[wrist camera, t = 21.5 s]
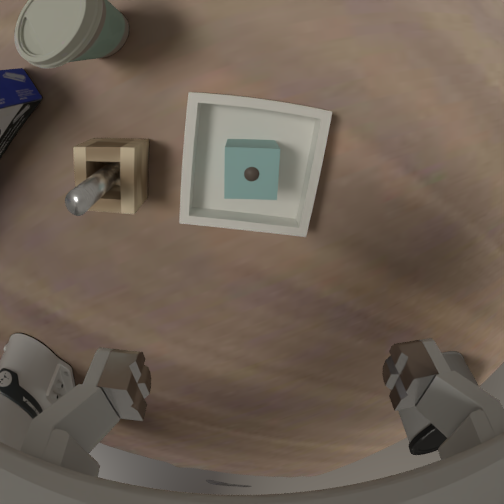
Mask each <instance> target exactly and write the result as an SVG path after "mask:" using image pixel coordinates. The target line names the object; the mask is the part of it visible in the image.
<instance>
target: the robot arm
mask: <svg viewBox="0 0 504 504" xmlns="http://www.w3.org/2000/svg"><path fill="white" fill-rule="evenodd" d="M389 352H390V355H391V356H390V357H389V358H388V359H386V360H385V363H384V365H383V380H384V383H385V386H387V387H388V388H389V389H391V392H390V395H389V397H390V399H391V402H392V405H393V408H394V410H395V411H396V410H401V409H406V408H411V407H415V408H416V409H417V410H418V411H419V412H420V413H421V414H422V415H423V416H424V417H425V418H426V419H428V420H429V421H430V422H431V423H432V424H433V425H434V426H435V427H436V428H437V429H438V430H439V431H440V432H441V433H442V434H444V435H445V436H446V437H447V439H446V440H445V441H444V442H443V443H442V444H441V445H440V447H439V448H438V452H439V454H440V458H441V460H440V461H437V462H434V463H431V464H428V465H425V466H423V467H419V468H416V469H413V470H410V471H406V472H403V473H399V474H396V475H392V476H388V477H385V478H380V479H376V480H372V481H367V482H362V483H358V484H353V485H347V486H342V487H336V488H330V489H323V490H315V491H307V492H296V493H284V494H268V495H216V494H197V493H186V492H176V491H168V490H160V489H153V488H147V487H141V486H136V485H130V484H125V483H120V482H116V481H111V480H106V479H103V478H99V477H98V473H99V468H100V465H99V464H98V462H97V461H96V460H95V459H94V458H92V457H91V456H90V455H89V453H90V452H91V451H92V449H93V448H94V447H95V446H96V445H97V444H98V443H99V442H100V441H101V440H102V439H103V438H104V437H105V436H106V435H107V433H108V432H109V431H110V430H111V429H112V428H113V427H114V426H115V425H116V424H117V423H118V422H119V421H120V418H121V419H129V420H138V421H143V420H144V416H145V412H146V407H147V404H146V402H145V399H144V398H146V397H147V396H148V395H149V394H150V389H151V374H150V370H149V368H148V367H147V366H146V365H144V362H145V357H144V354H143V352H137V351H128V350H119V349H110V348H101V347H100V348H99V349H98V350H97V351H96V353H95V355H94V358H93V360H92V362H91V365H90V367H89V370H88V372H87V374H86V377H85V379H84V382H83V384H78V385H77V386H75V382H74V377H73V371H72V368H71V367H70V366H69V365H68V364H67V363H65V362H64V361H62V360H60V359H59V358H58V357H57V356H56V355H55V354H54V353H53V352H52V351H50V350H49V349H48V348H47V347H46V346H44V345H43V344H42V343H40V342H39V341H37V340H35V339H34V338H32V337H29V336H27V335H24V334H13V335H12V336H11V337H10V339H9V343H8V344H6V345H5V347H4V354H3V356H2V358H1V360H0V504H504V409H503V407H502V405H501V403H500V401H499V400H498V399H496V398H495V397H493V396H492V395H490V394H489V393H487V392H486V391H484V390H483V389H481V388H480V387H479V386H477V385H476V384H474V383H473V382H471V381H470V380H468V379H466V378H465V377H463V376H462V375H460V374H459V373H457V372H456V371H451V370H450V368H449V366H448V364H447V362H446V360H445V359H444V357H443V355H442V353H441V352H440V350H439V348H438V346H437V345H436V343H435V341H434V340H433V339H432V338H429V339H423V340H415V341H409V342H403V343H396V344H394V345H392V346H391V349H390V351H389Z"/></svg>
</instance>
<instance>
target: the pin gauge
mask: <svg viewBox="0 0 504 504" xmlns="http://www.w3.org/2000/svg"><path fill="white" fill-rule="evenodd" d="M119 181H120V162H110V163H108V164H107V165H105V166H104V167H102V168H101V169H100V170H98V171H97V172H95V173H94V174H93V175H91V176H90V177H88V178H87V179H86V180H84V181H83V182H82V183H80V184H79V185H78V186H76V187H75V188H74V189H73V190H71V191H70V192H69V193H68V194H67V195H66V198H65V203H66V207H67V209H68V210H69V211H70V212H71V213H72V214H74V215H77V216H80V215H83V214H84V213H85V212H86V211H87V210H88V209H89V208H90V207H91V206H93V205H94V204H95V203H96V202H97V201H98V200H99V199H100V198H101V197H102V196H103V195H104V194H105V193H106V192H108V191H109V190H110V189H111V188H112V187H113V186H114V185H115V184H116V183H118V182H119Z"/></svg>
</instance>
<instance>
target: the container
mask: <svg viewBox="0 0 504 504" xmlns="http://www.w3.org/2000/svg"><path fill="white" fill-rule="evenodd" d="M442 355H443V357H444V359H445V360H446V362H447V364H448V366H449V368H450V370H451V371H456V372H457V373H459V374H460V375H462V376H463V377H465V378H466V379H468V380H470V381H471V382H473V383H474V384H476V385H477V386H478V384H477V382H476V380H475V378H474V377H473V375H472V373H471V371H470V369H469V368H468V366H467V364H466V362H465V361H464V358H463V356H462V355H461V354H460V353H459V352H455V351H449V352H444V353H442ZM398 411H399V414H400V417H401V420H402V423H403V426H404V428H405V431H406V434H407V437H408V440H409V443H410V444H409V449H410V452H411V454H413V455H421V454H426V453H430V452H433V451H436V450H438V448H439V447H440V445H441V444H442V443H443V442H444V441H445V440H446V439H447V437H446V436H445V435H444V434H442V433H441V432H440V431H439V430H438V429H437V428H436V427H435V426H434V425H433V424H432V423H431V422H430V421H429V420H428V419H426V418H425V417H424V416H423V415H422V414H421V413H420V412H419V411H418V410H417V409H416V408H415V407H411V408H406V409H401V410H398Z"/></svg>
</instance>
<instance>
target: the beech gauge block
mask: <svg viewBox="0 0 504 504" xmlns="http://www.w3.org/2000/svg"><path fill="white" fill-rule="evenodd" d="M73 148H74V175H75V187H76V186H78V185H79V184H80V183H82V182H83V181H84V180H86V179H87V178H88V177H90V176H91V175H93V174H94V173H95V172H97V171H98V170H100V169H101V168H102V167H104V166H105V165H107V164H108V163H110V162H120V181H119V182H118V183H116V184H115V185H114V186H113V187H112V188H111V189H110V190H109V191H108V192H106V193H105V194H104V195H103V196H102V197H101V198H100V199H99V200H98V201H97V202H96V203H95V204H94V205H93V206H91V207H90V208H89V209H88V211H101V212H113V213H125V214H135V213H136V212H137V210H138V209H139V208H140V207H141V205H142V204H143V203H144V202H145V200H146V199H147V198H148V157H149V139H134V138H93V139H91V140H88V141H86V142H84V143H81V144H79V145H77V146H75V147H73Z"/></svg>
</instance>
